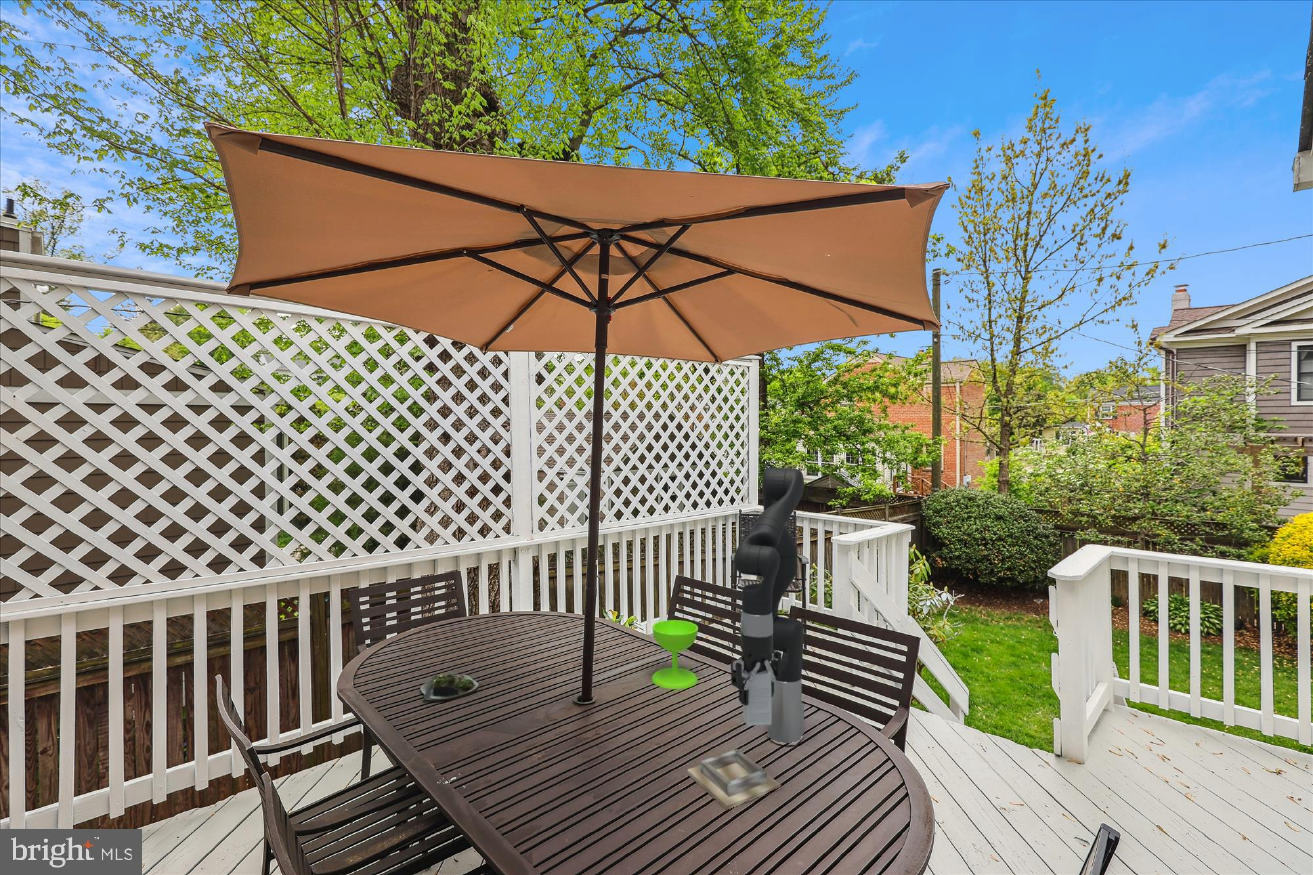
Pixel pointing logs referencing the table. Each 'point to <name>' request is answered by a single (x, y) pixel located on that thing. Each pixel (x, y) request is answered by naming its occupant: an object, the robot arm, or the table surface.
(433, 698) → the salad plate
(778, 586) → the robot arm
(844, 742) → the table surface
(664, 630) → the wineglass
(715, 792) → the socket board
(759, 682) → the skincare box
